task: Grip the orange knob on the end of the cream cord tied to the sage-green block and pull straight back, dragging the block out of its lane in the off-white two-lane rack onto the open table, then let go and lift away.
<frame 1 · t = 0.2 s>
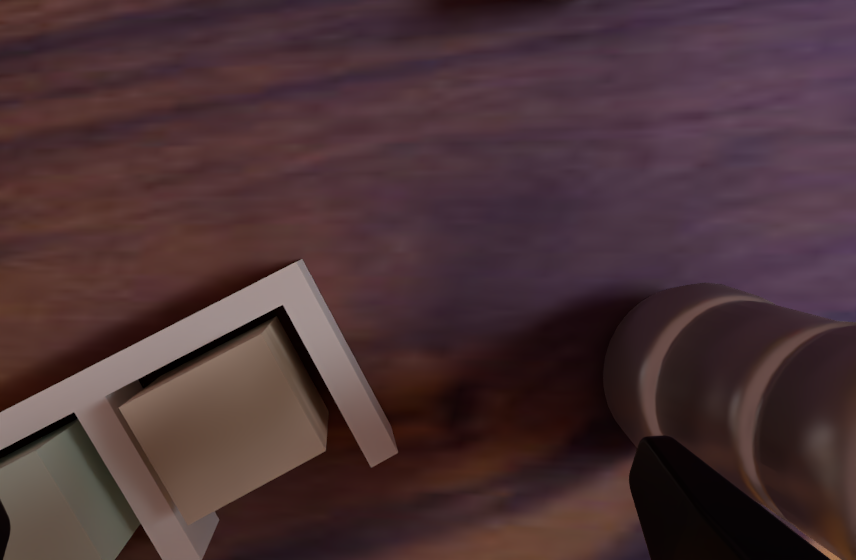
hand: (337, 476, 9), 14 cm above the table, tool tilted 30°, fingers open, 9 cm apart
lane rack: (158, 443, 23), on the table
plastic bottle: (661, 361, 25), on the table
ash block: (247, 393, 23), on the table
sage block: (65, 488, 22), on the table
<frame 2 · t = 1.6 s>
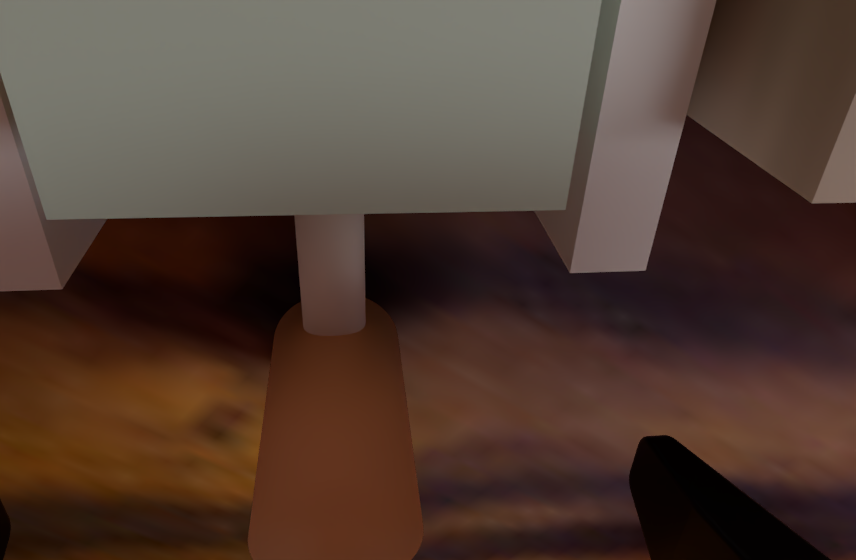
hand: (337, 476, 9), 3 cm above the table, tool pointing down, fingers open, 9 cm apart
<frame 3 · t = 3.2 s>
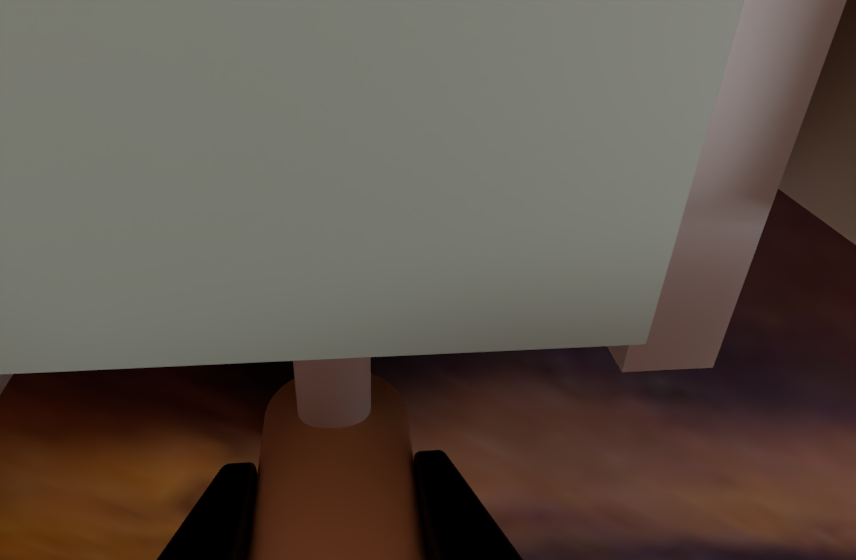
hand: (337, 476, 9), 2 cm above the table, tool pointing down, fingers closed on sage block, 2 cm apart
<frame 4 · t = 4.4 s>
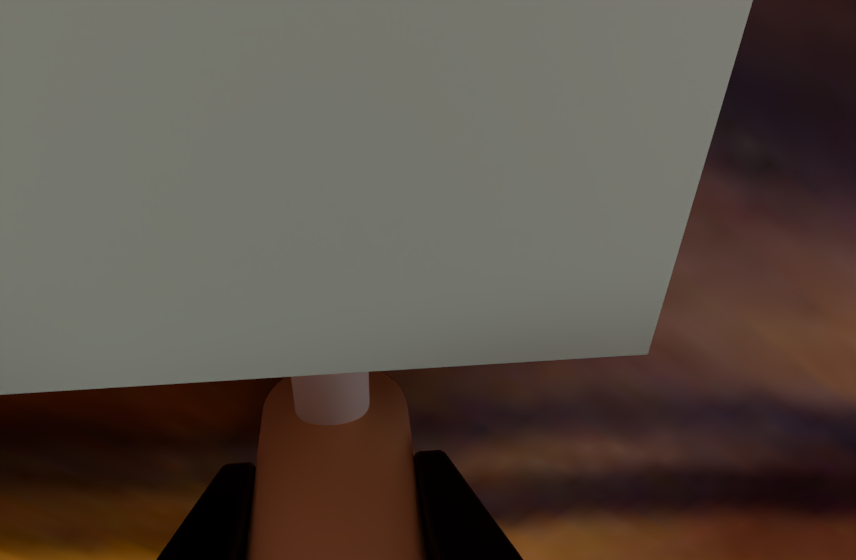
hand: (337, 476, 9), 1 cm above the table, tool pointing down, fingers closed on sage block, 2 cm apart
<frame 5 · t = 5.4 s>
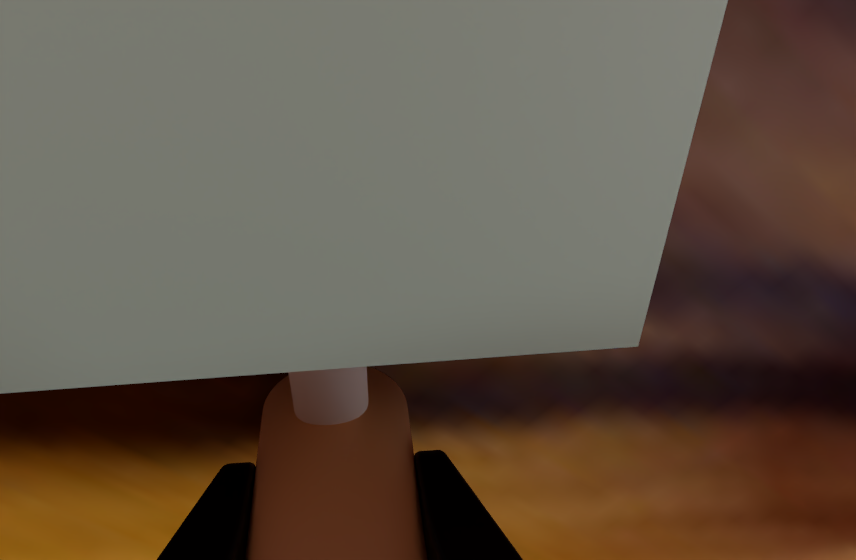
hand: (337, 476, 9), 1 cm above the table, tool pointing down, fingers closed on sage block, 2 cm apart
when the fingers open (1 cm above the table, at t = 5.9 s): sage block stays where it is, on the table.
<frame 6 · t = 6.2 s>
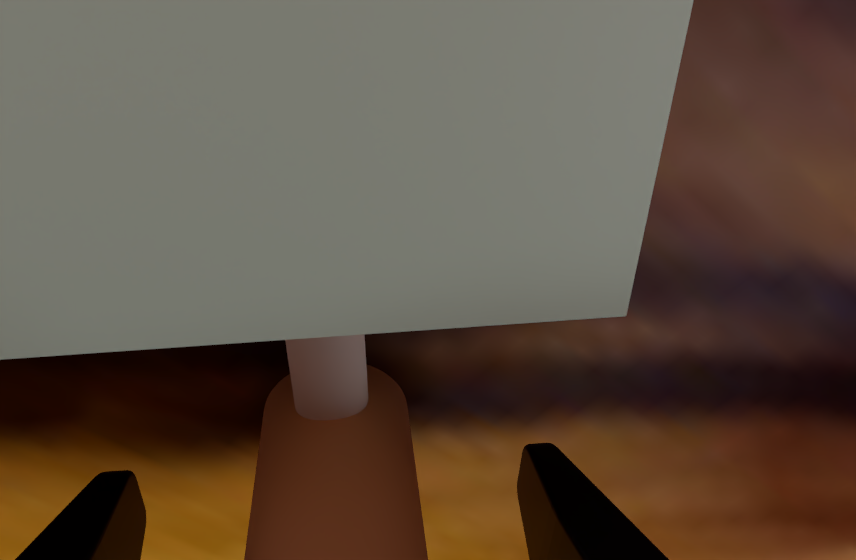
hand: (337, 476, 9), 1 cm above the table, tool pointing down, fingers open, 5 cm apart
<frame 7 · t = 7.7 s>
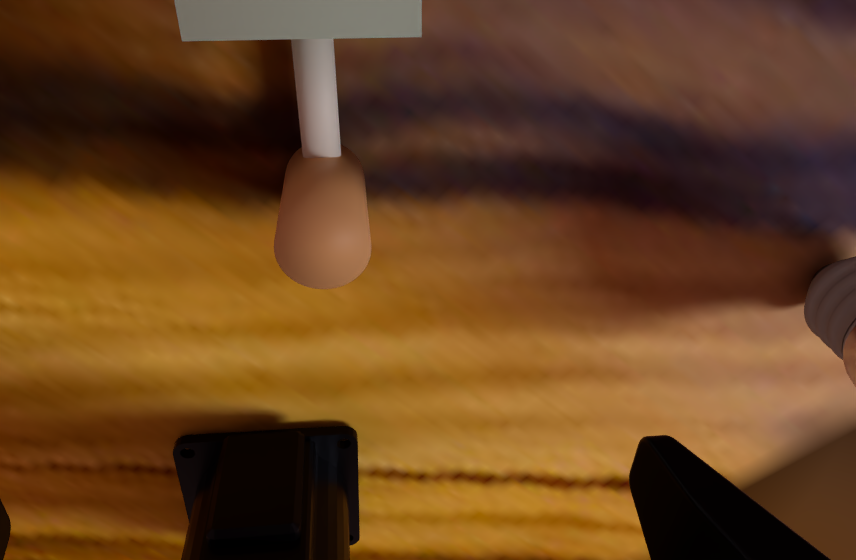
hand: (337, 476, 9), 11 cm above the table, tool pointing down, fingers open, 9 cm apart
light bulb: (823, 274, 23), on the table
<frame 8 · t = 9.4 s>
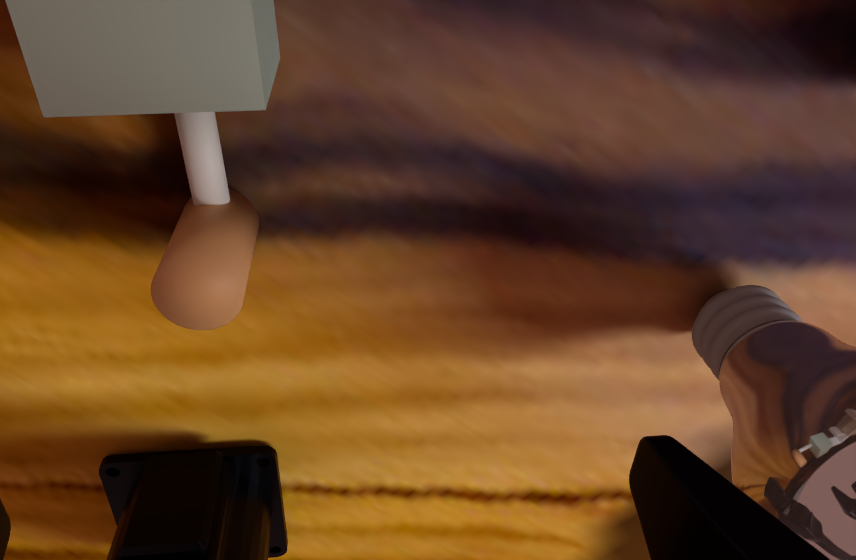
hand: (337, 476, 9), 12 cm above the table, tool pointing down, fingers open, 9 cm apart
light bulb: (716, 301, 24), on the table
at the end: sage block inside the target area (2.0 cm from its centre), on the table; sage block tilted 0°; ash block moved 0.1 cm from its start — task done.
